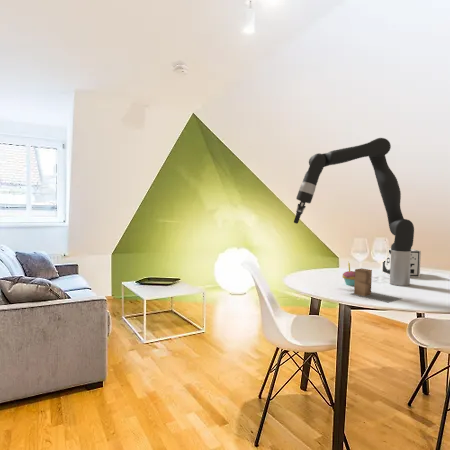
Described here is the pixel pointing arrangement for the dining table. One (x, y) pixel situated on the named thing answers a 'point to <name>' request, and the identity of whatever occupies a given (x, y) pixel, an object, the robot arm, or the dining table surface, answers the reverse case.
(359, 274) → the walnut block
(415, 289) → the dining table surface
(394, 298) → the mat
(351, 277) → the cupcake
